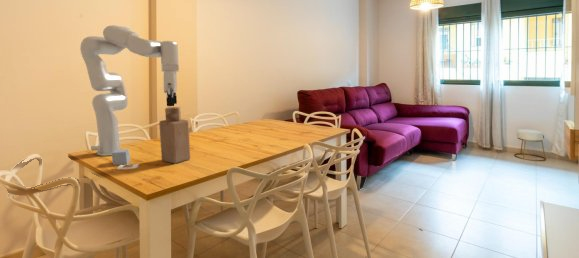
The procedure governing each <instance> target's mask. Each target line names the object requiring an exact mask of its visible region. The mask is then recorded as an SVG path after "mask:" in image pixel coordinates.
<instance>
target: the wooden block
mask: <svg viewBox="0 0 579 258" xmlns="http://www.w3.org/2000/svg"><path fill="white" fill-rule="evenodd" d="M158 126H159V136H160V137H159V139H160V148H161V149H160V150H161V151H160V152H161V160H162V161H163V162H165V163H166V162H167V163H170V164H174V165H175V164H179V163H182V162H186V161H189V160H190V159H191V148H190V146H191V145H190V130H189V129H190V127H189V120H187V119H182V118H181V120H180V121H167V122H166V119H165V120H160V121H159V124H158Z"/></svg>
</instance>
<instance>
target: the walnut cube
mask: <svg viewBox="0 0 579 258" xmlns="http://www.w3.org/2000/svg"><path fill="white" fill-rule="evenodd" d="M164 111H165V120H166V122H167V121H180V120H181V119H182V117H181V106H166V107H165V109H164Z"/></svg>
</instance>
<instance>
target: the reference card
mask: <svg viewBox="0 0 579 258" xmlns="http://www.w3.org/2000/svg"><path fill="white" fill-rule="evenodd" d="M139 166H140V164H139V163H135V164H134V163H133V164H124V165H118V166H117V168H116V169H117V170H131V169H133V170H134V169H138V168H139Z"/></svg>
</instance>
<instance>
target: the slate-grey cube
mask: <svg viewBox="0 0 579 258" xmlns="http://www.w3.org/2000/svg"><path fill="white" fill-rule="evenodd" d="M111 159H112V165H113V166H120V165H123V164H124V165H129V163H130V162H131V155H130V149H128V148H127V149H126V148H121V150H115V151H113V152H112V155H111Z"/></svg>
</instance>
